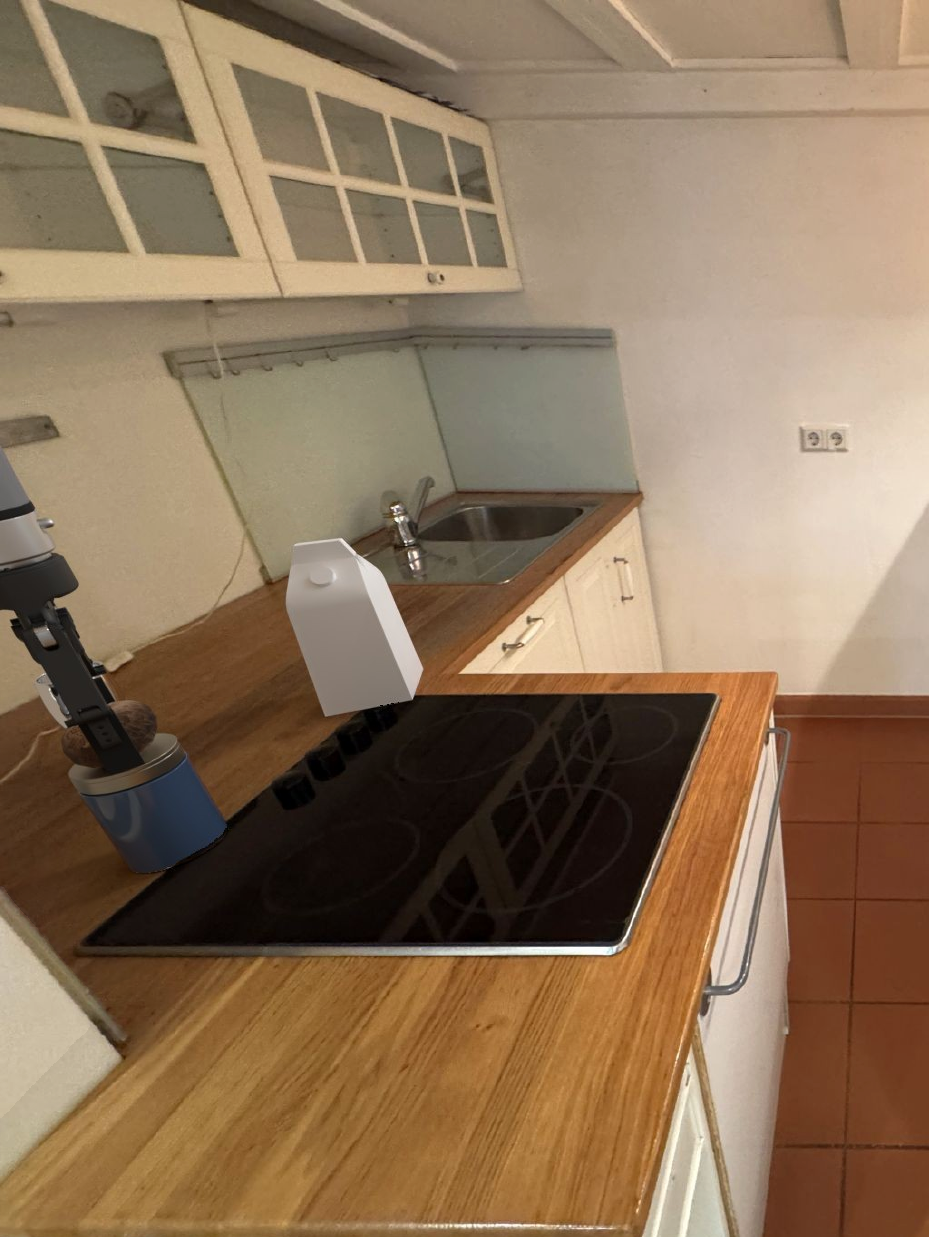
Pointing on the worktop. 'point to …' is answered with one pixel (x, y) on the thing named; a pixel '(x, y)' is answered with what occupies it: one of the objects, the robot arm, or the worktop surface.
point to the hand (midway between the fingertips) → (120, 749)
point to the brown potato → (133, 719)
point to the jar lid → (157, 762)
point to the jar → (159, 818)
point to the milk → (349, 629)
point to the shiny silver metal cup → (56, 703)
